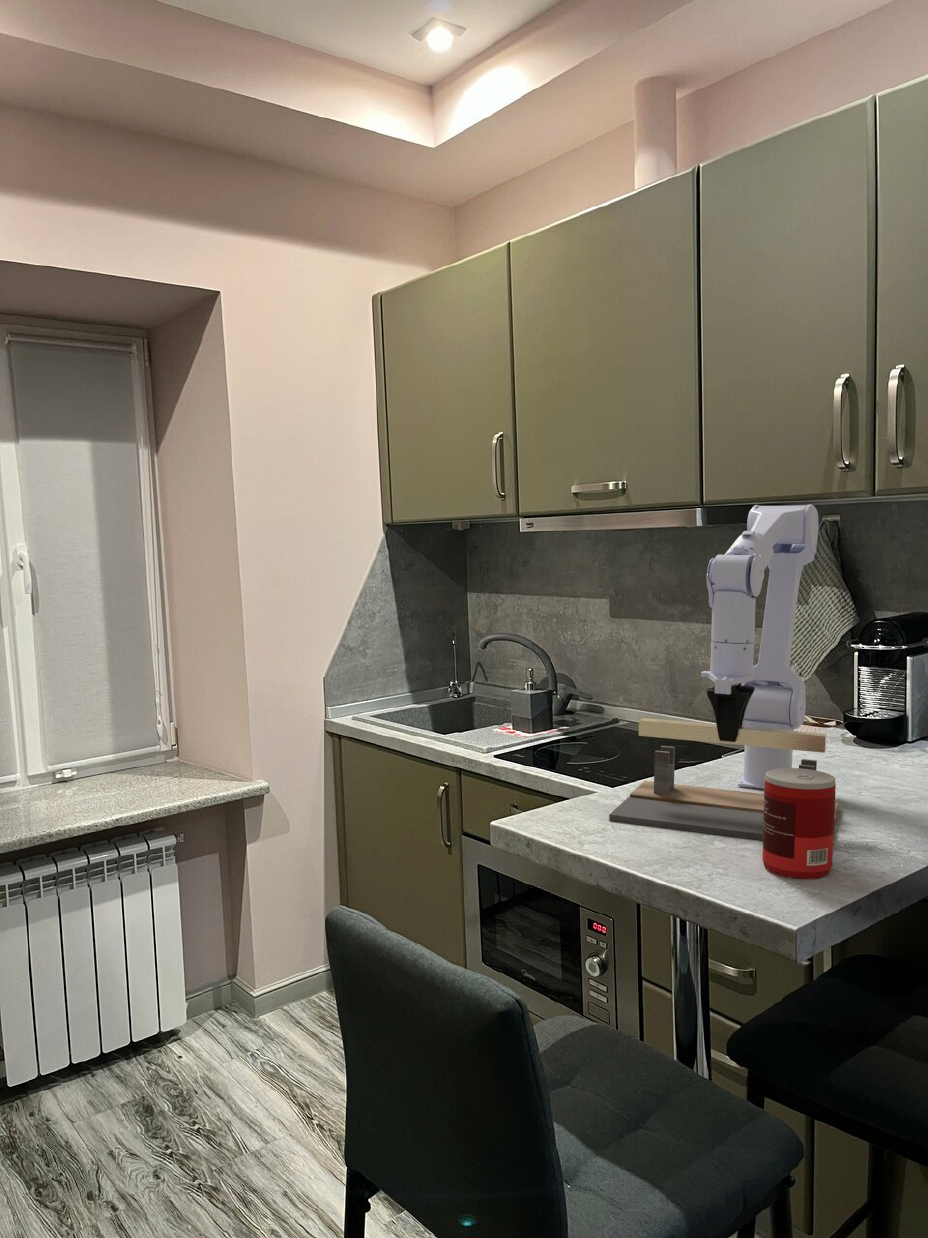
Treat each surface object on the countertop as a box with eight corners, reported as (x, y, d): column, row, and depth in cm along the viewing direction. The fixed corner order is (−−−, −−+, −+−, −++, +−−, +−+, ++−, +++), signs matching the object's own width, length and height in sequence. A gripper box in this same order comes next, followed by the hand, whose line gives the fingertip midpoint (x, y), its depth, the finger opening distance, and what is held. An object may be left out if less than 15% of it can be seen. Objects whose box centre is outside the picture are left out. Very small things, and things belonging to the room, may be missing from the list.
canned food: (837, 865, 112) (841, 772, 112) (825, 885, 106) (829, 787, 105) (770, 853, 116) (773, 764, 115) (754, 872, 109) (757, 778, 109)
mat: (627, 802, 139) (628, 797, 139) (834, 827, 127) (834, 821, 127) (609, 820, 130) (609, 814, 130) (829, 848, 118) (829, 842, 118)
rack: (644, 787, 148) (645, 741, 147) (838, 809, 136) (840, 759, 136) (629, 801, 140) (630, 752, 139) (834, 825, 128) (836, 772, 128)
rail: (642, 733, 139) (642, 718, 139) (825, 749, 129) (826, 733, 128) (638, 735, 137) (639, 720, 137) (824, 752, 127) (825, 736, 126)
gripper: (712, 636, 140) (709, 728, 141) (692, 644, 127) (689, 745, 128) (762, 638, 137) (759, 732, 138) (747, 647, 124) (744, 751, 125)
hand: (729, 739), depth 133 cm, fingers closed on rail, 2 cm apart
